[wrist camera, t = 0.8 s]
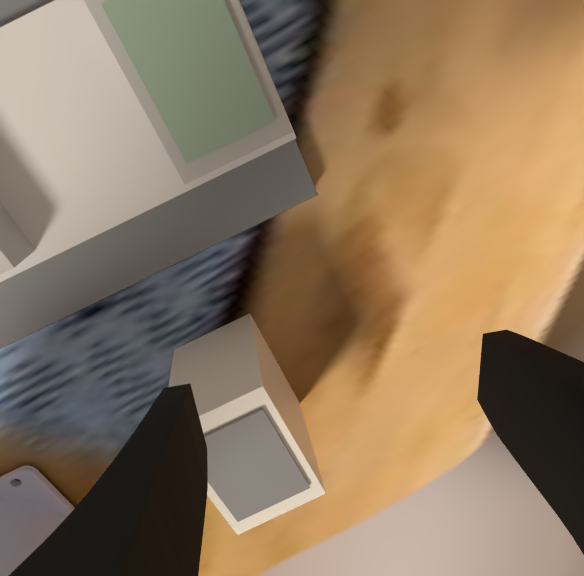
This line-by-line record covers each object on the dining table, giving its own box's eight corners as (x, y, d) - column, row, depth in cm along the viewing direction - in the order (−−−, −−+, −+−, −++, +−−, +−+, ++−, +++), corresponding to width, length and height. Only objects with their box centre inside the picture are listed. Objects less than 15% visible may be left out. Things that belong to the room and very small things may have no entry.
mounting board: (5, 339, 20) (-40, 390, 16) (-239, 58, 15) (-378, 44, 11) (313, 190, 19) (335, 209, 16) (171, -148, 14) (157, -227, 11)
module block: (231, 435, 24) (237, 537, 18) (174, 349, 21) (160, 437, 16) (299, 403, 24) (326, 496, 18) (249, 312, 21) (263, 388, 16)
